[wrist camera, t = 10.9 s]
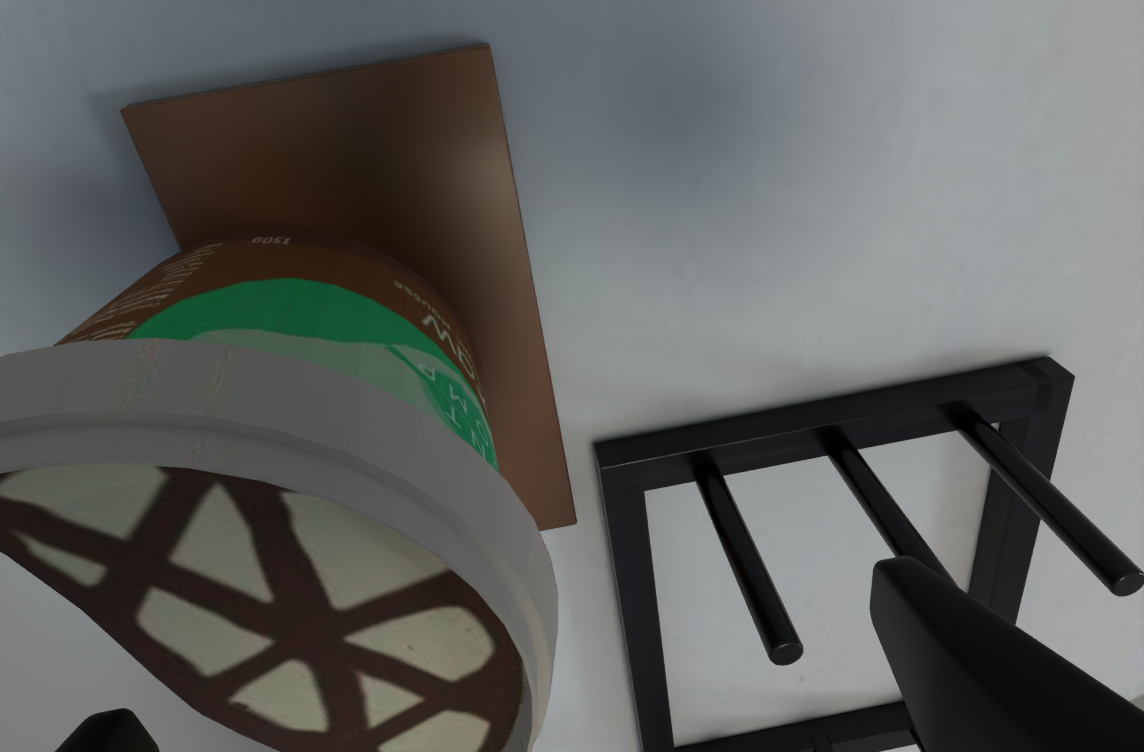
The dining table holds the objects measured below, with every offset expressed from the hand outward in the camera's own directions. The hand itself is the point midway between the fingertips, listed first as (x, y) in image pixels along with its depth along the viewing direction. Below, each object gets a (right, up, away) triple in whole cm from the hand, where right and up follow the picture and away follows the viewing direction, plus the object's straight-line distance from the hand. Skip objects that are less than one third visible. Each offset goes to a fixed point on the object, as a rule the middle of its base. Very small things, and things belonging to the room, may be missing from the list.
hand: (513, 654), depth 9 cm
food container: (-4, +4, +11) cm, 12 cm away
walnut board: (-4, +4, +11) cm, 13 cm away
